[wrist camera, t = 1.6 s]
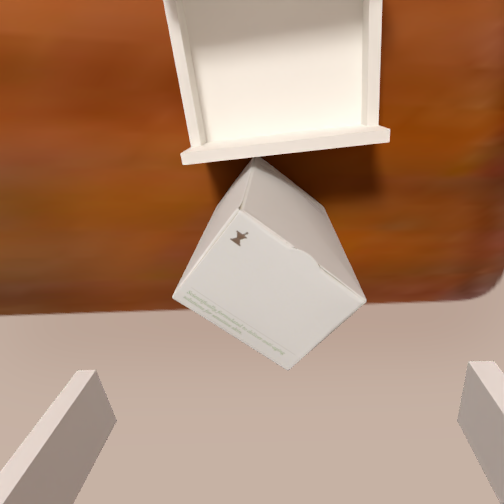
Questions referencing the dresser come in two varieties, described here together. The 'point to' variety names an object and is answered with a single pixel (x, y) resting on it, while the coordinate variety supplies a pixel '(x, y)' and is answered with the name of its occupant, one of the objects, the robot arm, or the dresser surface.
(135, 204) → the dresser surface
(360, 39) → the caddy rack
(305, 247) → the skincare box
